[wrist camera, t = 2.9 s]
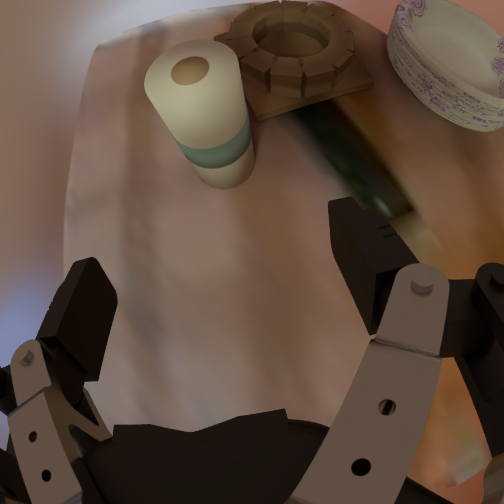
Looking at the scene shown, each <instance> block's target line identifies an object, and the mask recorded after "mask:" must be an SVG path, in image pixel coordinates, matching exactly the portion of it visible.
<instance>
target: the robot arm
mask: <svg viewBox="0 0 504 504" xmlns="http://www.w3.org/2000/svg"><path fill="white" fill-rule="evenodd" d="M328 213H329V226H330V240H331V247H332V252H333V255H334V258H335V261H336V263H337V265H338V267H339V269H340V271H341V273H342V275H343V277H344V280H345V282H346V284H347V286H348V288H349V290H350V293H351V295H352V297H353V299H354V301H355V304H356V306H357V308H358V310H359V312H360V315H361V317H362V319H363V322H364V324H365V326H366V328H367V331H368V333H369V335H373V334H376V333H377V334H376V336H375V338H374V339H371V341H370V343H369V345H368V347H367V349H366V351H365V354H364V356H363V359H362V361H361V364H360V366H359V368H358V371H357V373H356V375H355V377H354V380H353V382H352V384H351V386H350V389H349V391H348V393H347V395H346V397H345V399H344V401H343V404H342V406H341V408H340V410H339V412H338V414H337V416H336V418H335V420H334V422H333V424H332V426H331V428H330V427H327V426H325V425H322V424H318V423H314V422H311V421H304V420H293V419H288V417H287V414H286V411H285V409H279V410H274V411H269V412H263V413H257V414H251V415H244V416H238V417H235V418H232V419H230V420H227V421H224V422H222V423H219V424H216V425H213V426H210V427H208V428H205V429H202V430H199V431H195V432H184V431H179V430H174V429H169V428H164V427H160V426H155V425H151V424H141V425H114V429H113V436H112V434H111V433H110V432H109V430H108V429H107V427H106V425H105V424H104V422H103V420H102V418H101V416H100V414H99V412H98V410H97V408H96V406H95V404H94V402H93V400H92V398H91V396H90V394H89V392H88V391H87V390H86V389H85V388H84V382H89V381H98V380H99V375H100V371H101V366H102V362H103V358H104V354H105V349H106V345H107V341H108V338H109V334H110V330H111V326H112V323H113V319H114V315H115V312H116V308H117V304H118V300H117V294H116V291H115V289H114V287H113V285H112V284H111V282H110V280H109V279H108V277H107V275H106V274H105V272H104V270H103V269H102V267H101V265H100V264H99V262H98V260H97V259H96V258H94V257H90V258H86V259H83V260H79V261H76V262H74V263H73V265H72V267H71V269H70V271H69V273H68V275H67V276H66V278H65V281H64V282H63V283H62V284H61V285H60V287H59V288H58V290H57V292H56V294H55V296H54V298H53V301H52V302H51V304H50V306H49V310H48V311H47V313H46V315H45V318H44V320H43V322H42V325H41V327H40V329H39V332H38V334H37V336H36V339H35V340H33V339H32V340H28V341H26V342H24V343H23V344H22V345H20V346H19V348H18V349H17V350H16V351H15V353H14V355H13V357H12V359H11V364H10V365H8V366H6V367H3V368H1V367H0V411H1V412H3V413H4V414H5V415H7V416H8V418H7V419H8V424H9V429H10V433H9V438H8V444H7V449H6V451H4V450H3V449H1V448H0V504H453V503H451V502H450V501H448V500H446V499H444V498H442V497H441V496H439V495H437V494H435V493H434V492H432V491H430V490H429V489H427V488H425V487H423V486H422V485H420V484H418V483H417V482H415V481H413V480H412V479H410V478H408V477H407V473H408V471H409V468H410V466H411V463H412V461H413V458H414V456H415V453H416V450H417V447H418V445H419V442H420V439H421V436H422V433H423V430H424V427H425V424H426V421H427V417H428V414H429V411H430V407H431V404H432V400H433V396H434V393H435V389H436V385H437V381H438V376H439V372H440V367H441V361H442V358H446V357H454V359H455V361H456V363H457V365H458V368H459V370H460V372H461V374H462V377H463V379H464V381H465V384H466V386H467V389H468V391H469V393H470V396H471V398H472V401H473V404H474V406H475V409H476V411H477V414H478V417H479V419H480V422H481V425H482V428H483V431H484V434H485V437H486V440H487V443H488V446H489V449H490V452H491V456H492V460H491V461H490V463H489V464H488V466H487V468H486V471H485V474H484V479H483V488H484V497H483V501H482V503H481V504H504V265H502V264H499V263H486V264H484V265H482V266H481V267H480V268H479V269H478V271H477V274H476V277H475V279H462V280H449V279H447V277H446V276H445V274H444V273H443V272H442V271H440V270H439V269H437V268H436V267H433V266H431V265H427V264H420V262H419V261H418V260H417V258H416V257H415V256H414V254H413V253H412V252H411V250H410V249H409V248H408V246H407V245H406V244H405V243H404V241H403V240H402V239H401V237H400V236H399V235H397V232H396V231H395V230H394V229H393V227H391V225H390V224H389V222H388V221H387V220H386V219H385V218H384V216H383V215H381V214H379V213H377V212H376V211H374V210H372V209H365V210H362V209H361V207H360V206H359V205H358V203H357V202H356V201H355V200H354V198H353V197H346V198H341V199H336V200H331V201H329V202H328Z"/></svg>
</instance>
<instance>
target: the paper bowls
mask: <svg viewBox="0 0 504 504" xmlns="http://www.w3.org/2000/svg"><path fill="white" fill-rule="evenodd" d="M386 45H387V52H388V57H389V59H390V61H391V63H392V66H393V67H394V69H395V71H396V72H397V74H398V75H399V77H400V78H401V80H402V81H403V82H404V83H405V84H406V85H407V86H408V87H409V88H410V90H411V91H412V92H413V93H414V95H415V96H416V97H417V98H418V99H419V100H420V101H421V102H422V103H423V104H424V105H426V106H427V107H428V108H429V109H431V110H432V111H433V112H435V113H437V114H438V115H440V116H442V117H444V118H446V119H447V120H449V121H451V122H453V123H455V124H458V125H460V126H462V127H465V128H468V129H472V130H475V131H480V132H488V131H494V130H497V129H499V128H501V127H502V126H504V39H503V38H502V37H501V36H500V35H499V33H497V32H496V31H495V30H494V29H493V28H492V27H491V26H489V25H488V24H487V23H486V22H485V21H483V20H482V19H480V18H479V17H477V16H476V15H475V14H473V13H472V12H470V11H468V10H466V9H464V8H463V7H461V6H459V5H457V4H454V3H452V2H449V1H446V0H403V1H401V2H400V3H399V4H398V6H397V7H396V11H395V14H394V17H393V20H392V23H391V26H390V29H389V33H388V37H387V44H386Z"/></svg>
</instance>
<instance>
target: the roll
mask: <svg viewBox="0 0 504 504" xmlns="http://www.w3.org/2000/svg"><path fill="white" fill-rule="evenodd" d="M144 87H145V91H146V94H147V96H148V97H149V99H150V100H151V102H152V104H153V105H154V107H155V108H156V110H157V111H158V113H159V114H160V116H161V118H162V119H163V121H164V122H165V124H166V125H167V127H168V128H169V130H170V132H171V135H172V136H173V138H174V139H175V141H176V142H177V144H178V145H179V147H180V149H181V150H182V152H183V153H184V155H185V156H186V158H187V159H188V160H189V161H190V163H191V164H192V166H193V167H194V169H195V170H196V172H197V174H198V175H199V177H200V178H201V180H202V181H203V182H204V183H206V184H207V185H209V186H211V187H213V188H216V189H230V188H233V187H236V186H238V185H240V184H242V183H243V182H244V181H246V180H247V178H248V177H249V176H250V175H251V173H252V171H253V168H254V164H255V157H254V150H253V144H252V138H251V128H250V122H249V116H248V110H247V105H246V102H245V97H244V91H243V85H242V79H241V74H240V68H239V62H238V58H237V56H236V54H235V53H234V51H233V50H232V49H231V48H230V47H228V46H227V45H225V44H223V43H221V42H218V41H213V40H193V41H188V42H184V43H181V44H178V45H176V46H174V47H172V48H170V49H168V50H167V51H165V52H164V53H163V54H161V55H160V56H159V57H158V58H157V59H156V60H155V61H154V62H153V63H152V65H151V66H150V68H149V69H148V71H147V73H146V76H145V81H144Z"/></svg>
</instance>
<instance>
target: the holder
mask: <svg viewBox="0 0 504 504" xmlns="http://www.w3.org/2000/svg"><path fill="white" fill-rule="evenodd" d="M307 4H308V2H298V1H286V0H282V3H280V2H279V1H273V2H268V3H264V4H260V5H256V6H254V9H253V8H251V7H250V8H249V9H248V10H246V11H245V12H243V13H242V14H241V15H239V16H238V17H237V18H235V19H234V22H232V23H231V26H230V29H229V32H227V33H224V34H221V35H218V36H215V37H214V41H218V42H221V43H223V44H225V45H227V46H228V47H230V48H231V49H232V50H233V51H234V53H235V54H236V56H237V58H238V62H239V68H240V74H241V79H242V85H243V91H244V96H245V98H246V100H247V102H248V104H249V106H250V108H251V110H252V112H253V114H254V116H255V118H256V119H257V121H258V122H259V121H262V120H265V119H268V118H271V117H274V116H276V115H279V114H282V113H285V112H288V111H291V110H294V109H298V108H301V107H304V106H307V105H310V104H314V103H317V102H320V101H324V100H327V99H331V98H334V97H338V96H341V95H345V94H349V93H353V92H356V91H360V90H364V89H368V88H372V85H373V83H374V81H373V80H372V79H371V77H370V76H369V74H368V73H367V72H366V70H365V69H364V68H363V67H362V65H361V64H360V63H359V61H358V60H357V59H356V58H355V56H354V55H353V53H354V42H353V33H351V29H350V28H349V27H348V26H347V25H346V24H345V23H344V22H343V21H342V20H341V19H340V18H339V16H338V15H335V16H334V13H333V12H331V11H328V10H326V9H324V8H321V7H319V6H317V5H314V4H310V5H309V6H308V7H307Z"/></svg>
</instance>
